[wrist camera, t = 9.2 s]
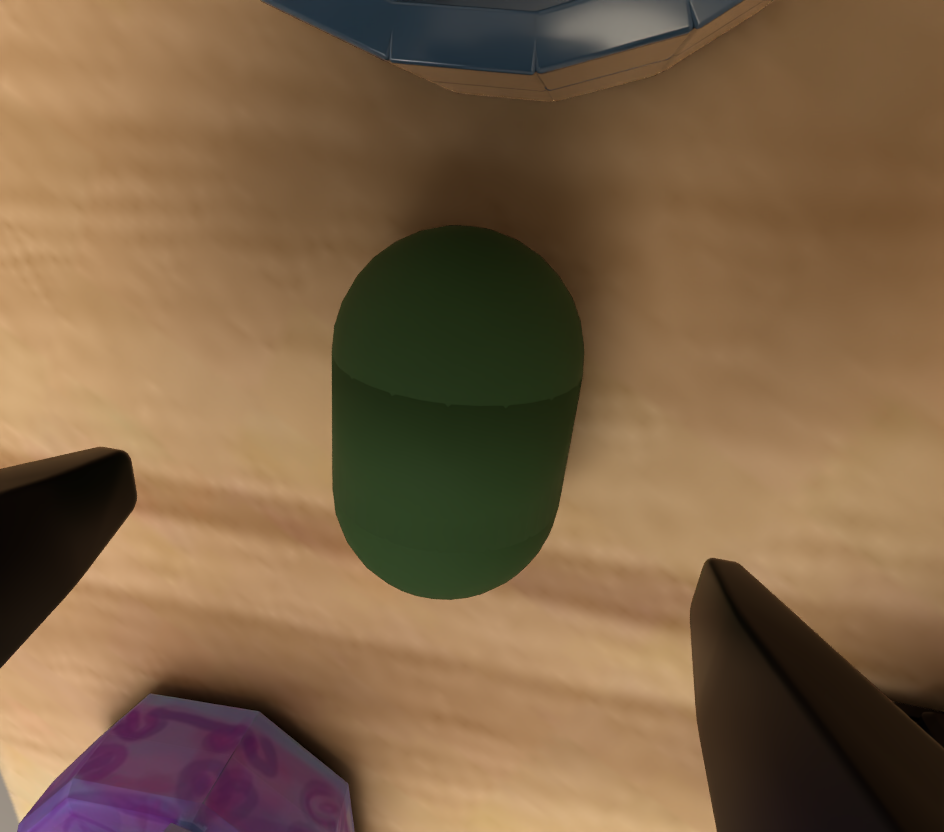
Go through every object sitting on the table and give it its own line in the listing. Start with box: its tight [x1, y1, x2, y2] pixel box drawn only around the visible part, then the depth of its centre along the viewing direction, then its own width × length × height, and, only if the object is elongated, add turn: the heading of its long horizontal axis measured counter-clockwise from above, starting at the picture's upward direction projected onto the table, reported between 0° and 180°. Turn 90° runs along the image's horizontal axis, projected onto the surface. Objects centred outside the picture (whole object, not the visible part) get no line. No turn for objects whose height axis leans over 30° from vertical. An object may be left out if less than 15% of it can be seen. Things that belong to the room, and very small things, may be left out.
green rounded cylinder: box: [332, 225, 584, 600], centre depth 13 cm, size 8×5×5 cm, turn 174°
